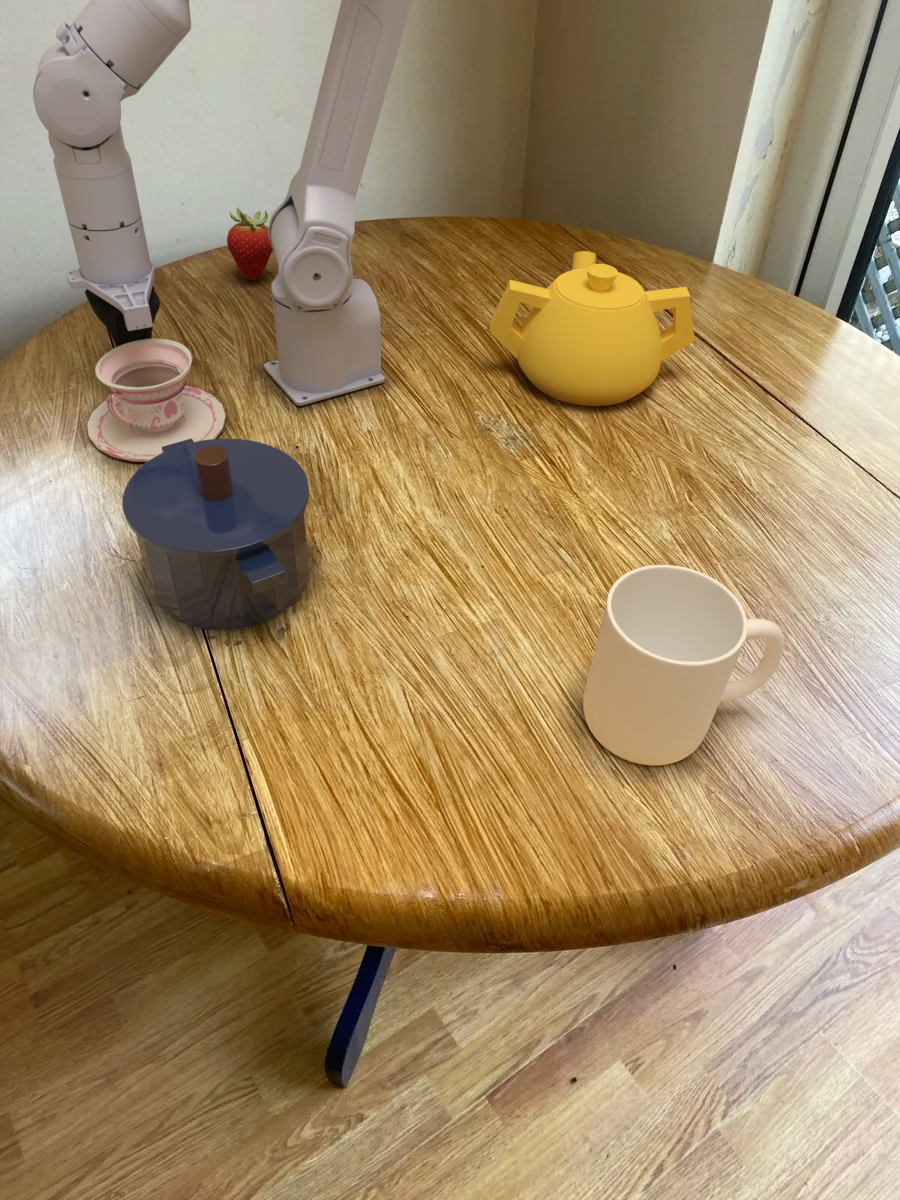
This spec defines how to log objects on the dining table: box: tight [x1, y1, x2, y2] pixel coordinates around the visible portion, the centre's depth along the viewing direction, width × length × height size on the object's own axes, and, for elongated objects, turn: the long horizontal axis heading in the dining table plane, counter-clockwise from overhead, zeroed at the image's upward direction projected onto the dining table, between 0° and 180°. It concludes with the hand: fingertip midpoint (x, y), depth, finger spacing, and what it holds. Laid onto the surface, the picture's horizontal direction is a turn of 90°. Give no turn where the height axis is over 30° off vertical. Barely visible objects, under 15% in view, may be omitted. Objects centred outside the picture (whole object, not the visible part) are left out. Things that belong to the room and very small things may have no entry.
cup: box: [582, 564, 785, 766], centre depth 57 cm, size 8×12×10 cm
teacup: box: [86, 338, 227, 463], centre depth 79 cm, size 12×12×6 cm
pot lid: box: [121, 438, 310, 557], centre depth 62 cm, size 13×13×4 cm
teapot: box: [489, 250, 696, 407], centre depth 89 cm, size 20×18×11 cm
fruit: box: [226, 207, 274, 281], centre depth 100 cm, size 5×5×8 cm
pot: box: [135, 439, 310, 632], centre depth 66 cm, size 12×17×8 cm
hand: (137, 365), depth 83 cm, fingers closed
